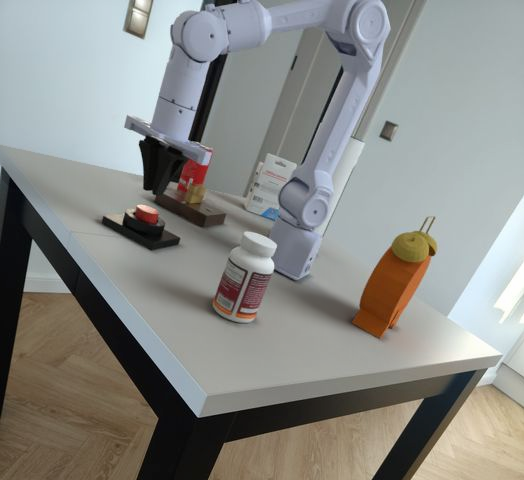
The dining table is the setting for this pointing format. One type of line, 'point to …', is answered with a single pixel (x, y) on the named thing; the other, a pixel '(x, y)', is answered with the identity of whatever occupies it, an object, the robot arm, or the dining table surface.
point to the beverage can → (193, 171)
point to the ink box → (268, 186)
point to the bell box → (141, 230)
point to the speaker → (342, 176)
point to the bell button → (146, 213)
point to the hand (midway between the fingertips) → (152, 192)
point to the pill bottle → (245, 278)
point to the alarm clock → (395, 281)
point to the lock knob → (195, 193)
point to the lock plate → (191, 209)
